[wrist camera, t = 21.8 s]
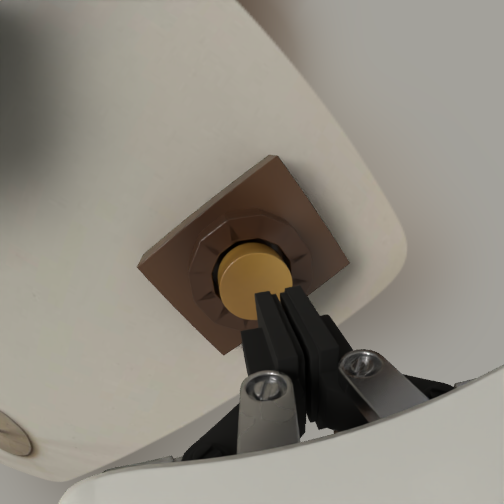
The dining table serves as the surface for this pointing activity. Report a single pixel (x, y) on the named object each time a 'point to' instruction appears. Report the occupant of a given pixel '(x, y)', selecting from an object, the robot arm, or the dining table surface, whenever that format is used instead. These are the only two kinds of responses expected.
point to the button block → (237, 233)
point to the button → (251, 277)
